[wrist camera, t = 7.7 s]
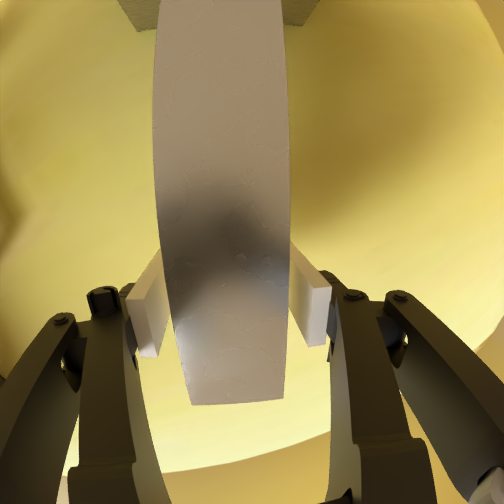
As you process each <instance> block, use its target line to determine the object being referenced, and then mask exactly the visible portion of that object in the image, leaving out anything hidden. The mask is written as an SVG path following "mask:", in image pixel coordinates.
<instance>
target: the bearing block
mask: <svg viewBox="0 0 504 504" xmlns="http://www.w3.org/2000/svg"><path fill="white" fill-rule="evenodd" d="M117 1H118V2H119V4H120V5H121V7H122V8H123V10H124V12H125V13H126V15H127V16H128V18H129V19H130V21H131V23H132V24H133V26H134V27H135V29H136V31H137V32H140V31H145V30H150V29H156V28H157V26H158V18H159V10H160V3H161V0H117ZM319 1H320V0H281V7H282V18H283V24H289V25H297V26H302V25H303V24H304V22H305V21H306V19H307V18H308V17H309V15H310V14H311V12H312V11H313V9H314V8H315V6H316V5H317V3H318V2H319Z"/></svg>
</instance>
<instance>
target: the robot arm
mask: <svg viewBox="0 0 504 504" xmlns="http://www.w3.org/2000/svg"><path fill="white" fill-rule="evenodd" d="M86 296H87V300H88V303H89V307H90V310H91V314H92V316H91V320H89V321H83V322H76V319H75V316H74V314H72V313H67V312H66V313H63V312H62V313H58V314H56V315H55V316H53V317H52V318H51V319H49V320H48V322H47V323H46V324H45V325H44V327H43V328H42V329H41V331H40V332H39V333H38V335H37V336H36V337H35V339H34V340H33V341H32V343H31V344H30V345H29V347H28V348H27V349H26V351H25V352H24V354H23V355H22V356H21V358H20V359H19V361H18V362H17V364H16V365H15V367H14V368H13V370H12V371H11V373H10V374H9V376H8V377H7V379H6V380H4V379H3V378H2V377H1V376H0V504H56V501H57V496H58V490H59V485H60V480H61V476H62V472H63V467H64V463H65V459H66V455H67V452H68V448H69V444H70V441H71V437H72V434H73V431H74V427H75V424H76V421H77V418H78V415H79V465H78V466H77V467H71V468H70V469H69V471H68V478H67V481H68V495H69V504H172V503H171V501H170V498H169V495H168V493H167V490H166V487H165V484H164V480H163V477H162V474H161V471H160V467H159V464H158V460H157V457H156V453H155V449H154V445H153V441H152V437H151V433H150V429H149V424H148V420H147V415H146V410H145V405H144V399H143V394H142V388H141V382H140V375H139V368H138V361H137V358H136V355H135V352H136V349H137V347H138V350H139V353H140V356H141V357H158V355H159V351H160V347H161V344H162V340H163V337H164V333H165V330H166V326H167V323H168V319H169V316H170V313H171V312H170V307H169V301H168V295H167V289H166V283H165V276H164V269H163V262H162V254H161V249H159V250H158V252H157V253H156V254H155V256H154V257H153V259H152V260H151V262H150V263H149V264H148V266H147V267H146V269H145V270H144V272H143V273H142V275H141V276H140V278H139V279H138V281H137V282H136V283H129V284H127V285H126V286H124V287H123V288H122V289H121V290H120V292H119V293H118V290H117V288H115V287H113V286H103V287H99V288H96V289H94V290H92V291H90V292H89V293H88V294H87V295H86ZM288 306H289V308H290V310H291V312H292V315H293V317H294V319H295V321H296V323H297V325H298V327H299V329H300V331H301V333H302V335H303V337H304V339H305V341H306V343H307V346H308V347H312V346H318V345H324V344H325V342H326V335H327V334H328V336H329V337H330V339H331V340H330V346H329V352H328V358H327V362H330V383H331V444H330V469H329V485H328V491H327V494H326V498H325V502H324V503H320V504H437V499H436V492H435V485H434V479H433V473H432V468H431V463H430V459H429V454H428V450H427V446H426V444H425V442H424V441H423V440H422V439H421V438H413V437H412V436H411V434H410V431H409V426H408V422H407V418H406V414H405V410H404V406H403V402H402V398H401V394H400V391H401V393H402V395H403V396H404V398H405V400H406V401H407V403H408V405H409V406H410V408H411V409H412V411H413V413H414V415H415V416H416V418H417V420H418V421H419V423H420V425H421V427H422V428H423V430H424V432H425V434H426V435H427V437H428V439H429V441H430V443H431V444H432V446H433V448H434V450H435V452H436V454H437V455H438V457H439V459H440V461H441V463H442V465H443V466H444V469H445V471H446V472H447V474H448V476H449V478H450V479H451V481H452V483H453V485H454V487H455V488H456V489H457V490H458V492H459V493H460V494H461V496H462V497H463V498H464V499H465V500H466V501H467V502H468V503H469V504H504V384H503V382H502V381H501V380H500V379H499V378H498V377H497V376H496V375H495V374H494V373H493V372H492V371H491V370H490V368H489V367H488V366H487V365H486V364H485V363H484V362H483V361H482V360H481V359H480V358H479V357H478V356H477V355H476V354H475V353H474V352H473V351H472V350H471V349H470V348H469V347H468V346H467V345H466V344H465V343H464V342H463V341H462V340H461V339H460V338H459V337H458V336H457V335H456V334H455V333H454V332H452V331H451V330H450V329H449V328H448V327H447V326H446V325H445V324H444V323H443V322H442V321H441V320H440V319H439V318H437V317H436V316H435V315H434V314H433V313H432V312H431V311H430V310H429V309H427V308H426V307H425V306H424V305H423V304H422V303H421V302H420V301H418V300H417V299H416V298H415V297H414V296H413V295H411V294H409V293H407V292H405V291H402V290H393V291H389V292H388V293H386V297H385V302H383V301H369V298H368V296H367V295H366V294H365V293H364V292H362V291H359V290H354V289H348V288H347V287H346V286H345V285H344V284H343V283H342V282H340V280H339V279H337V277H336V276H335V275H334V274H332V273H330V272H328V271H326V270H323V271H318V270H317V269H316V268H315V267H314V266H313V265H312V264H311V263H310V262H309V261H308V259H307V258H306V257H305V256H304V255H303V254H302V253H301V252H300V251H299V250H298V249H297V248H296V247H295V245H294V244H293V243H292V242H291V241H290V272H289V304H288ZM406 335H407V338H408V344H407V343H406V342H405V341H404V340H405V337H406ZM61 360H62V362H63V364H64V366H63V368H61ZM399 390H400V391H399Z"/></svg>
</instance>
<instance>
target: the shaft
mask: <svg viewBox="0 0 504 504" xmlns="http://www.w3.org/2000/svg"><path fill="white" fill-rule="evenodd" d="M153 161H154V181H155V195H156V208H157V219H158V229H159V238H160V246H161V254H162V262H163V269H164V276H165V283H166V289H167V295H168V301H169V307H170V312H171V318H172V323H173V328H174V333H175V338H176V343H177V348H178V352H179V357H180V361H181V365H182V370H183V374H184V378H185V382H186V386H187V390H188V393H189V397H190V401H191V404H192V405H218V404H235V403H248V402H258V401H267V400H275V399H283V395H284V381H285V366H286V348H287V328H288V304H289V272H290V145H289V114H288V91H287V73H286V57H285V42H284V30H283V18H282V7H281V0H161V3H160V10H159V18H158V26H157V36H156V47H155V60H154V78H153Z"/></svg>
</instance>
